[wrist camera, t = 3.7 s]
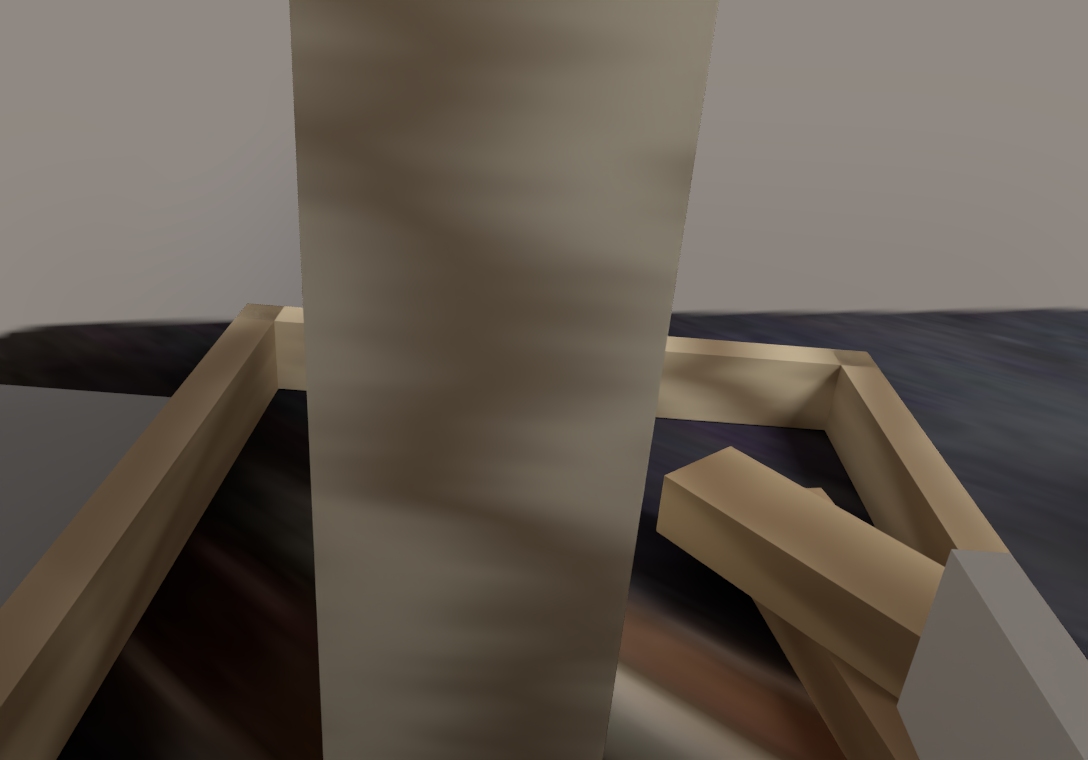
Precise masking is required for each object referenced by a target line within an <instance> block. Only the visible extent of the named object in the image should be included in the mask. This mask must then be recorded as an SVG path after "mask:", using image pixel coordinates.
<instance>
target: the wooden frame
mask: <svg viewBox="0 0 1088 760" xmlns="http://www.w3.org/2000/svg"><path fill="white" fill-rule="evenodd" d="M278 388H279V389H292V390H305V391H307V384H306V362H305V340H304V317H303V308H299V307H285V306H273V305H261V304H260V305H259V304H247V305H246V306H245V307H244V308H243V310H242V311H241V312H240V314H239V315H238V316H237V317H236V318H235V319H234V321H233V322H232V323H231V324H230V326H229V327H228V328H227V329H226V331H225V332H224V333H223V334H222V336H221V337H220V338H219V339H218V340H217V342H216V343H215V344H214V345H213V347H212V348H211V349H210V350H209V352H208V353H207V354H206V355H205V356H204V358H203V359H202V360H201V361H200V363H199V364H198V365H197V366H196V368H195V369H194V370H193V371H192V373H191V374H190V375H189V376H188V377H187V379H186V380H185V381H184V382H183V384H182V385H181V386H180V387H179V389H178V390H177V391H176V392H175V393H174V395H173V396H172V397H171V398H170V400H169V401H168V402H167V403H166V405H165V406H164V407H163V408H162V410H161V411H160V412H159V413H158V414H157V416H156V417H155V418H154V419H153V421H152V422H151V423H150V424H149V426H148V427H147V428H146V429H145V430H144V432H143V433H142V434H141V435H140V437H139V438H138V439H137V440H136V442H135V443H134V444H133V445H132V447H131V448H130V449H129V450H128V451H127V453H126V454H125V455H124V456H123V458H122V459H121V460H120V461H119V463H118V464H117V465H116V466H115V467H114V469H113V470H112V471H111V472H110V474H109V475H108V476H107V477H106V479H105V480H104V481H103V482H102V484H101V485H100V486H99V487H98V488H97V490H96V491H95V492H94V493H93V495H92V496H91V497H90V498H89V500H88V501H87V502H86V503H85V504H84V506H83V507H82V508H81V509H80V511H79V512H78V513H77V514H76V516H75V517H74V518H73V519H72V521H71V522H70V523H69V524H68V525H67V527H66V528H65V529H64V530H63V532H62V533H61V534H60V535H59V537H58V538H57V539H56V540H55V541H54V543H53V544H52V545H51V546H50V548H49V549H48V550H47V551H46V553H45V554H44V555H43V556H42V558H41V559H40V560H39V561H38V562H37V564H36V565H35V566H34V567H33V569H32V570H31V571H30V572H29V574H28V575H27V576H26V577H25V578H24V580H23V581H22V582H21V583H20V585H19V586H18V587H17V588H16V590H15V591H14V592H13V593H12V595H11V596H10V597H9V598H8V599H7V601H6V602H5V603H4V604H3V606H2V607H1V608H0V760H56V759H57V758H58V756H59V754H60V753H61V751H62V749H63V747H64V746H65V744H66V742H67V741H68V739H69V737H70V736H71V734H72V732H73V731H74V729H75V727H76V726H77V724H78V722H79V721H80V719H81V717H82V716H83V714H84V712H85V711H86V709H87V707H88V706H89V704H90V702H91V701H92V699H93V697H94V696H95V694H96V692H97V691H98V689H99V687H100V686H101V684H102V682H103V681H104V679H105V677H106V676H107V674H108V672H109V671H110V669H111V667H112V666H113V664H114V662H115V661H116V659H117V657H118V656H119V654H120V652H121V651H122V649H123V647H124V646H125V644H126V642H127V640H128V639H129V637H130V635H131V634H132V632H133V630H134V629H135V627H136V625H137V624H138V622H139V620H140V619H141V617H142V615H143V614H144V612H145V610H146V609H147V607H148V605H149V604H150V602H151V600H152V599H153V597H154V595H155V594H156V592H157V590H158V589H159V587H160V585H161V584H162V582H163V580H164V579H165V577H166V575H167V574H168V572H169V570H170V569H171V567H172V565H173V564H174V562H175V560H176V559H177V557H178V555H179V554H180V552H181V550H182V549H183V547H184V545H185V544H186V542H187V540H188V539H189V537H190V535H191V533H192V532H193V530H194V528H195V527H196V525H197V523H198V522H199V520H200V518H201V517H202V515H203V513H204V512H205V510H206V508H207V507H208V505H209V503H210V502H211V500H212V498H213V497H214V495H215V493H216V492H217V490H218V488H219V487H220V485H221V483H222V482H223V480H224V478H225V477H226V475H227V473H228V472H229V470H230V468H231V467H232V465H233V463H234V462H235V460H236V458H237V457H238V455H239V453H240V452H241V450H242V448H243V447H244V445H245V443H246V442H247V440H248V438H249V437H250V435H251V433H252V432H253V430H254V428H255V426H256V425H257V423H258V421H259V420H260V418H261V416H262V415H263V413H264V411H265V410H266V408H267V406H268V405H269V403H270V401H271V400H272V398H273V396H274V395H275V393H276V391H277V390H278ZM655 417H659V418H673V419H686V420H699V421H712V422H725V423H738V424H751V425H764V426H778V427H791V428H804V429H817V430H825V432H826V433H827V435H828V437H829V439H830V441H831V443H832V445H833V447H834V449H835V451H836V453H837V455H838V457H839V458H840V460H841V462H842V464H843V466H844V468H845V470H846V472H847V474H848V476H849V478H850V480H851V481H852V483H853V485H854V487H855V489H856V491H857V493H858V495H859V497H860V499H861V501H862V503H863V504H864V506H865V508H866V510H867V512H868V514H869V516H870V518H871V520H872V522H873V524H874V526H875V527H876V529H878V530H880V531H882V532H883V533H885V534H887V535H889V536H891V537H892V538H894V539H896V540H898V541H899V542H901V543H903V544H905V545H906V546H908V547H910V548H912V549H914V550H915V551H917V552H919V553H921V554H922V555H924V556H926V557H928V558H930V559H931V560H933V561H935V562H937V563H938V564H940V565H942V566H944V567H945V566H946V563H947V560H948V557H949V554H950V551H951V549H957V550H971V551H986V552H1000V553H1010V552H1009V550H1008V549H1007V547H1006V546H1005V545H1004V543H1003V542H1002V540H1001V539H1000V538H999V536H998V535H997V533H996V532H995V531H994V529H993V528H992V526H991V525H990V524H989V522H988V521H987V519H986V518H985V517H984V515H983V514H982V512H981V511H980V510H979V508H978V507H977V505H976V504H975V503H974V501H973V500H972V498H971V497H970V496H969V494H968V493H967V491H966V490H965V489H964V487H963V486H962V484H961V483H960V482H959V480H958V479H957V477H956V476H955V475H954V473H953V472H952V470H951V469H950V468H949V466H948V465H947V463H946V462H945V461H944V459H943V458H942V456H941V455H940V454H939V452H938V451H937V449H936V448H935V447H934V445H933V444H932V442H931V441H930V440H929V438H928V437H927V435H926V434H925V433H924V431H923V430H922V428H921V427H920V426H919V424H918V423H917V421H916V420H915V419H914V417H913V416H912V414H911V413H910V412H909V410H908V409H907V407H906V406H905V405H904V403H903V402H902V400H901V399H900V398H899V396H898V395H897V393H896V392H895V391H894V389H893V388H892V386H891V385H890V383H889V382H888V381H887V379H886V378H885V376H884V375H883V374H882V372H881V371H880V369H879V368H878V367H877V365H876V364H875V362H874V361H873V360H872V358H871V357H870V355H869V354H868V353H867V352H861V351H848V350H836V349H823V348H810V347H797V346H785V345H772V344H759V343H746V342H733V341H721V340H708V339H695V338H682V337H670V336H668V337H667V343H666V350H665V356H664V363H663V370H662V376H661V383H660V389H659V396H658V402H657V409H656V415H655ZM1011 555H1012V554H1011ZM1013 558H1014V557H1013ZM1016 562H1017V561H1016ZM1021 569H1022V568H1021ZM1026 576H1027V575H1026Z"/></svg>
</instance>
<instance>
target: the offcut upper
mask: <svg viewBox="0 0 1088 760" xmlns="http://www.w3.org/2000/svg"><path fill="white" fill-rule="evenodd" d="M656 531H657V532H658V533H660V534H661V535H663V536H664V537H666V538H667V539H669V540H670V541H671V542H673V543H674V544H676V545H677V546H679V547H680V548H682V549H683V550H684V551H686V552H687V553H689V554H690V555H692V556H693V557H695V558H696V559H697V560H699V561H700V562H702V563H703V564H705V565H706V566H708V567H709V568H710V569H712V570H713V571H715V572H716V573H718V574H719V575H720V576H722V577H723V578H725V579H726V580H728V581H729V582H731V583H732V584H733V585H735V586H736V587H738V588H739V589H741V590H742V591H744V592H745V593H746V594H748V595H749V596H751V597H752V598H754V599H755V600H757V601H758V602H759V603H761V604H762V605H764V606H765V607H767V608H768V609H770V610H771V611H772V612H774V613H775V614H777V615H778V616H780V617H781V618H783V619H784V620H785V621H787V622H788V623H790V624H791V625H793V626H794V627H796V628H797V629H798V630H800V631H801V632H803V633H804V634H806V635H807V636H809V637H810V638H811V639H813V640H814V641H816V642H817V643H819V644H820V645H822V646H824V647H825V648H827V649H828V650H830V651H831V652H832V653H834V654H835V655H837V656H838V657H840V658H841V659H842V660H844V661H845V662H847V663H848V664H850V665H851V666H852V667H854V668H855V669H857V670H858V671H860V672H861V673H862V674H864V675H865V676H867V677H868V678H870V679H871V680H872V681H874V682H875V683H877V684H878V685H880V686H881V687H883V688H884V689H885V690H887V691H888V692H890V693H891V694H893V695H894V696H895V697H897V698H898V699H899V698H900V695H901V692H902V689H903V686H904V683H905V680H906V678H907V675H908V672H909V669H910V666H911V663H912V660H913V658H914V655H915V652H916V649H917V646H918V643H919V640H920V637H921V635H922V632H923V629H924V626H925V623H926V620H927V617H928V614H929V612H930V609H931V606H932V603H933V600H934V597H935V594H936V591H937V589H938V586H939V583H940V580H941V577H942V574H943V571H944V569H945V567H944V566H942V565H940V564H938V563H937V562H935V561H933V560H931V559H930V558H928V557H926V556H924V555H922V554H921V553H919V552H917V551H915V550H914V549H912V548H910V547H908V546H906V545H905V544H903V543H901V542H899V541H898V540H896V539H894V538H892V537H891V536H889V535H887V534H885V533H883V532H882V531H880V530H878V529H876V528H875V527H873V526H871V525H869V524H867V523H866V522H864V521H862V520H860V519H859V518H857V517H855V516H853V515H852V514H850V513H848V512H846V511H844V510H843V509H841V508H839V507H837V506H836V505H834V504H832V503H830V502H828V501H827V500H825V499H823V498H821V497H820V496H818V495H816V494H814V493H813V492H811V491H809V490H807V489H805V488H804V487H802V486H800V485H798V484H797V483H795V482H793V481H791V480H789V479H788V478H786V477H784V476H782V475H781V474H779V473H777V472H775V471H774V470H772V469H770V468H768V467H766V466H765V465H763V464H761V463H759V462H758V461H756V460H754V459H752V458H750V457H749V456H747V455H745V454H743V453H742V452H740V451H738V450H736V449H734V448H733V447H731V446H730V447H728V448H725V449H723V450H721V451H719V452H716V453H714V454H712V455H710V456H707V457H705V458H703V459H701V460H698V461H696V462H694V463H692V464H689V465H687V466H685V467H683V468H680V469H678V470H676V471H674V472H671V473H669V474H667V475H665V476H664V483H663V489H662V496H661V502H660V509H659V515H658V522H657V528H656Z"/></svg>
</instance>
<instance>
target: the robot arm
mask: <svg viewBox="0 0 1088 760" xmlns="http://www.w3.org/2000/svg"><path fill="white" fill-rule="evenodd" d="M896 707H897V709H898V711H899V714H900V716H901V718H902V720H903V723H904V725H905V727H906V730H907V732H908V734H909V737H910V739H911V741H912V743H913V746H914V748H915V750H916V753H917V755H918V757H919V759H920V760H1088V660H1087V659H1086V657H1085V656H1084V655H1083V653H1082V652H1081V650H1080V649H1079V648H1078V646H1077V645H1076V644H1075V642H1074V641H1073V639H1072V638H1071V637H1070V635H1069V634H1068V632H1067V631H1066V630H1065V628H1064V627H1063V625H1062V624H1061V623H1060V621H1059V620H1058V619H1057V617H1056V616H1055V614H1054V613H1053V612H1052V610H1051V609H1050V607H1049V606H1048V605H1047V603H1046V602H1045V601H1044V599H1043V598H1042V596H1041V595H1040V594H1039V592H1038V591H1037V589H1036V588H1035V587H1034V585H1033V584H1032V582H1031V581H1030V580H1029V578H1028V577H1027V576H1026V574H1025V573H1024V571H1023V570H1022V569H1021V567H1020V566H1019V564H1018V563H1017V562H1016V560H1015V559H1014V558H1013V556H1012V555H1011V553H1000V552H986V551H971V550H957V549H951V551H950V554H949V557H948V560H947V563H946V566H945V569H944V571H943V574H942V577H941V580H940V583H939V586H938V589H937V591H936V594H935V597H934V600H933V603H932V606H931V609H930V612H929V614H928V617H927V620H926V623H925V626H924V629H923V632H922V635H921V637H920V640H919V643H918V646H917V649H916V652H915V655H914V658H913V660H912V663H911V666H910V669H909V672H908V675H907V678H906V680H905V683H904V686H903V689H902V692H901V695H900V698H899V701H898V703H897V706H896Z"/></svg>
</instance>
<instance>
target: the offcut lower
mask: <svg viewBox="0 0 1088 760" xmlns="http://www.w3.org/2000/svg"><path fill="white" fill-rule="evenodd" d="M805 489H807V490H809V491H811V492H813V493H814V494H816V495H818V496H820V497H821V498H823V499H825V500H827V501H828V502H830V503H832V504H834V503H833V502H832V500H831V499H830V498H829V497H828V496H827V494H826V493H825V492H824V491H823V489H822V488H805ZM834 505H835V504H834ZM752 599H753V601H754V602H755V604H756V606H757V607H758V609H759V611H760V613H761V614H762V616H763V618H764V619H765V621H766V623H767V625H768V626H769V628H770V630H771V631H772V633H773V635H774V636H775V638H776V640H777V642H778V643H779V645H780V647H781V648H782V650H783V652H784V654H785V655H786V657H787V659H788V660H789V662H790V664H791V665H792V667H793V669H794V671H795V672H796V674H797V676H798V677H799V679H800V681H801V683H802V684H803V686H804V688H805V689H806V691H807V693H808V694H809V696H810V698H811V700H812V701H813V703H814V705H815V706H816V708H817V710H818V712H819V713H820V715H821V717H822V718H823V720H824V722H825V723H826V725H827V727H828V729H829V730H830V732H831V734H832V735H833V737H834V739H835V741H836V742H837V744H838V746H839V747H840V749H841V751H842V752H843V754H844V756H845V758H846V759H847V760H920V759H919V757H918V755H917V753H916V750H915V748H914V746H913V743H912V741H911V739H910V737H909V734H908V732H907V730H906V727H905V725H904V723H903V720H902V718H901V716H900V714H899V711H898V709H897V707H896V706H897V703H898V701H899V699H898V698H897V697H895V696H894V695H893V694H891V693H890V692H888V691H887V690H885V689H884V688H883V687H881V686H880V685H878V684H877V683H875V682H874V681H872V680H871V679H870V678H868V677H867V676H865V675H864V674H862V673H861V672H860V671H858V670H857V669H855V668H854V667H852V666H851V665H850V664H848V663H847V662H845V661H844V660H842V659H841V658H840V657H838V656H837V655H835V654H834V653H832V652H831V651H830V650H828V649H827V648H825V647H824V646H822V645H820V644H819V643H817V642H816V641H814V640H813V639H811V638H810V637H809V636H807V635H806V634H804V633H803V632H801V631H800V630H798V629H797V628H796V627H794V626H793V625H791V624H790V623H788V622H787V621H785V620H784V619H783V618H781V617H780V616H778V615H777V614H775V613H774V612H772V611H771V610H770V609H768V608H767V607H765V606H764V605H762V604H761V603H759V602H758V601H757V600H755V599H754V598H752Z"/></svg>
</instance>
